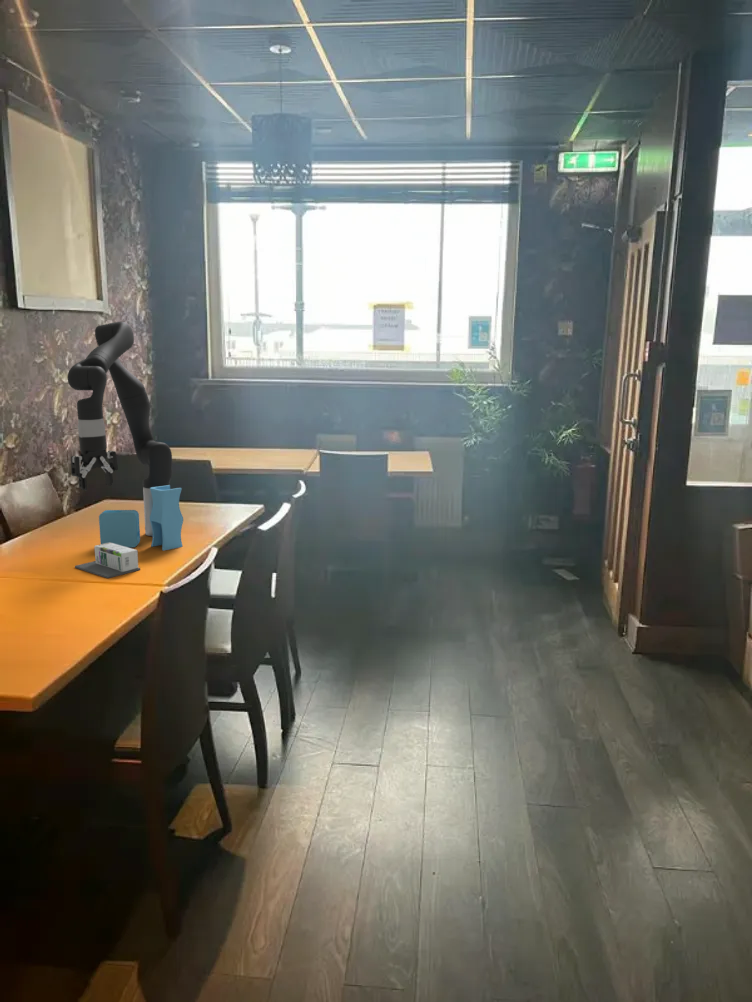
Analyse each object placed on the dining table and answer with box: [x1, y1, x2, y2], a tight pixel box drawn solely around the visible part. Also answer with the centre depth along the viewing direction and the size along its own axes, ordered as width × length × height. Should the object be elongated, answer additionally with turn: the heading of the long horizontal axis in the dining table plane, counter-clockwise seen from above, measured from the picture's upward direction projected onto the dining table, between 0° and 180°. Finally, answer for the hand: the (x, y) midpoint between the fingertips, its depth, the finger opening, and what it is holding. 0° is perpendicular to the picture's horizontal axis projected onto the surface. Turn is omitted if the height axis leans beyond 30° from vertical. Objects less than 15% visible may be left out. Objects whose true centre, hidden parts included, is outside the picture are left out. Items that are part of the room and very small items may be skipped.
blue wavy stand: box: [150, 484, 184, 551], centre depth 245 cm, size 8×8×20 cm
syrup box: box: [94, 542, 139, 572], centre depth 221 cm, size 6×6×14 cm
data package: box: [98, 509, 141, 549], centre depth 246 cm, size 12×4×12 cm, turn 96°
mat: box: [74, 560, 141, 579], centre depth 221 cm, size 17×11×1 cm, turn 53°
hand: (96, 487), depth 222 cm, fingers open, 8 cm apart
